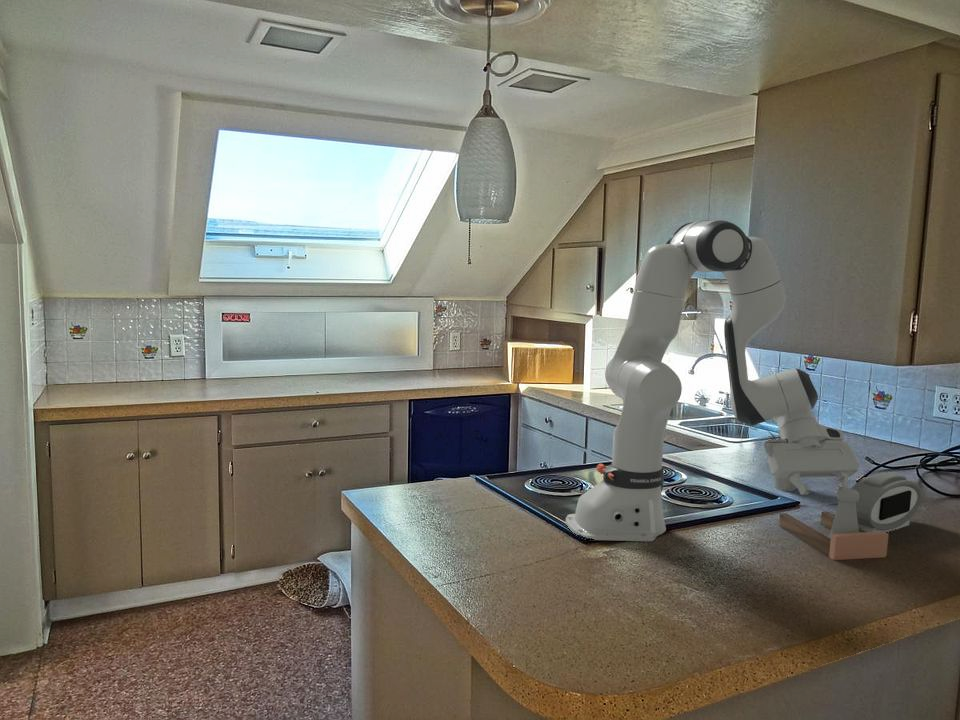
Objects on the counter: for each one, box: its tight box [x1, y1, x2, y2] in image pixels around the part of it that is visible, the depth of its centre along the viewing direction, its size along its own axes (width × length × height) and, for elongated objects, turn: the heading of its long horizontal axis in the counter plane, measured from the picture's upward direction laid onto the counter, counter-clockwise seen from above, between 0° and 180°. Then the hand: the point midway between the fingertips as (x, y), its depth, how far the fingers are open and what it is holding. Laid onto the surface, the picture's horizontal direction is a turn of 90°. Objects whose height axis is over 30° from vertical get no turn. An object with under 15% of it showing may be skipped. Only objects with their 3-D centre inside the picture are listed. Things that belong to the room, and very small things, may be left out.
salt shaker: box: [828, 487, 860, 539], centre depth 157 cm, size 6×6×13 cm
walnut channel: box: [778, 511, 866, 558], centre depth 163 cm, size 12×18×3 cm
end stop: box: [828, 531, 889, 561], centre depth 153 cm, size 12×2×5 cm, turn 100°
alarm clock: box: [851, 472, 923, 533], centre depth 170 cm, size 23×6×13 cm, turn 123°
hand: (825, 493), depth 163 cm, fingers open, 8 cm apart
